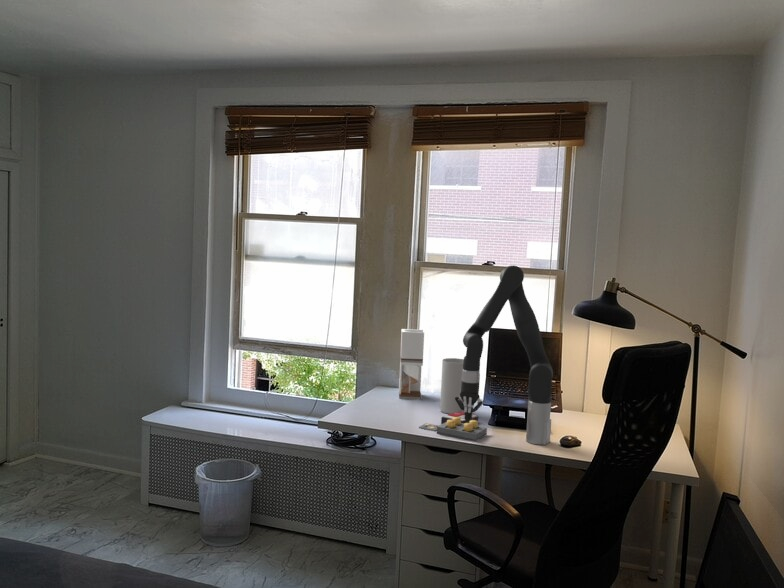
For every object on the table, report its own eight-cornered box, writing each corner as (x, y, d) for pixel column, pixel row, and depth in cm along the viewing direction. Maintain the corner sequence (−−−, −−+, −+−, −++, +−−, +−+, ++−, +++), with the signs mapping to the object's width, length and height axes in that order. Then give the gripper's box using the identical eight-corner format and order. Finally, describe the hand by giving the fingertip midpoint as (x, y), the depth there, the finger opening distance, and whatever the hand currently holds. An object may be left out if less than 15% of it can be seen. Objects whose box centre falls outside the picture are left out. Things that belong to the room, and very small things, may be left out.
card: (442, 427, 287) (442, 425, 287) (435, 431, 281) (435, 429, 281) (426, 424, 291) (426, 422, 291) (418, 427, 285) (418, 426, 285)
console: (486, 434, 279) (487, 427, 279) (475, 441, 269) (476, 434, 268) (448, 427, 288) (449, 420, 288) (436, 433, 278) (436, 426, 277)
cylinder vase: (470, 414, 312) (473, 362, 310) (447, 415, 307) (449, 363, 305) (458, 407, 324) (460, 357, 322) (435, 408, 319) (438, 358, 317)
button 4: (478, 427, 279) (479, 421, 279) (475, 429, 276) (475, 422, 276) (471, 426, 281) (471, 419, 281) (467, 428, 278) (468, 421, 278)
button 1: (456, 427, 278) (456, 420, 278) (452, 429, 275) (453, 422, 275) (448, 426, 280) (449, 419, 280) (445, 427, 277) (445, 420, 277)
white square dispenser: (399, 398, 337) (402, 331, 334) (398, 393, 347) (401, 328, 345) (421, 399, 337) (424, 332, 334) (420, 394, 348) (423, 329, 345)
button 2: (461, 424, 283) (462, 417, 283) (458, 426, 280) (458, 419, 280) (454, 423, 285) (454, 416, 285) (450, 424, 282) (451, 418, 282)
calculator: (478, 415, 298) (462, 419, 286) (478, 424, 298) (461, 429, 286) (458, 410, 304) (441, 415, 292) (457, 419, 304) (440, 424, 292)
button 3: (473, 430, 274) (474, 423, 274) (470, 432, 271) (470, 425, 271) (465, 429, 276) (466, 422, 276) (462, 431, 273) (462, 424, 273)
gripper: (488, 381, 272) (486, 421, 274) (459, 376, 279) (457, 416, 280) (481, 384, 266) (479, 425, 267) (452, 379, 272) (449, 419, 274)
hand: (468, 420), depth 274 cm, fingers closed
